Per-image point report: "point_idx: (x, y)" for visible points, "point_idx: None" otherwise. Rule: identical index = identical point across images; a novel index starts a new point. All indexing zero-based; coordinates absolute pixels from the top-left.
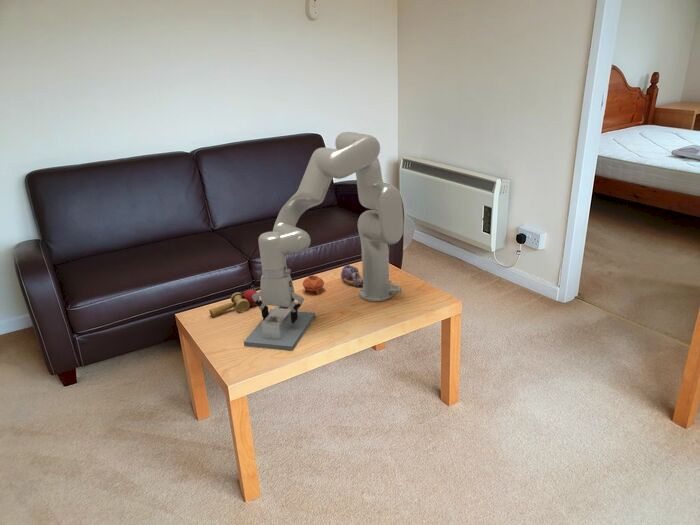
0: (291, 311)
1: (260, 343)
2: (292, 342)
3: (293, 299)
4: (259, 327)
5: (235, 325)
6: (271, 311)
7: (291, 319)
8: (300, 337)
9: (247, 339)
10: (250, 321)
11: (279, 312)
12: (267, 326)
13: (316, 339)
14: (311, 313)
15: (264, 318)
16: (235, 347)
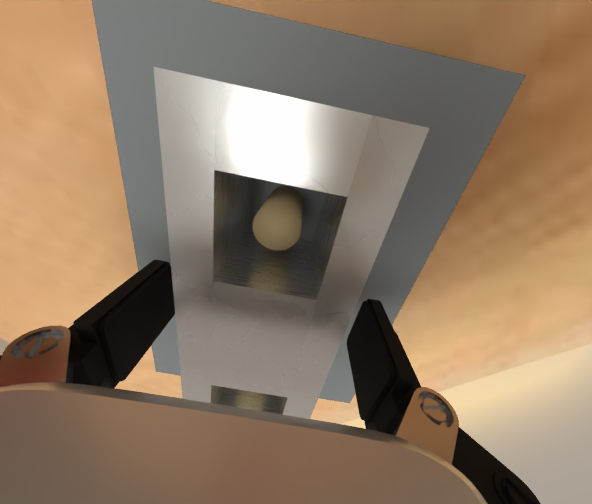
0: (370, 410)
1: None
2: (349, 386)
3: (454, 485)
4: None
5: (4, 203)
6: (177, 330)
7: (352, 365)
8: None
9: (162, 360)
10: (52, 155)
11: (253, 347)
12: None
13: (443, 335)
14: (487, 95)
15: (161, 327)
16: (141, 359)
